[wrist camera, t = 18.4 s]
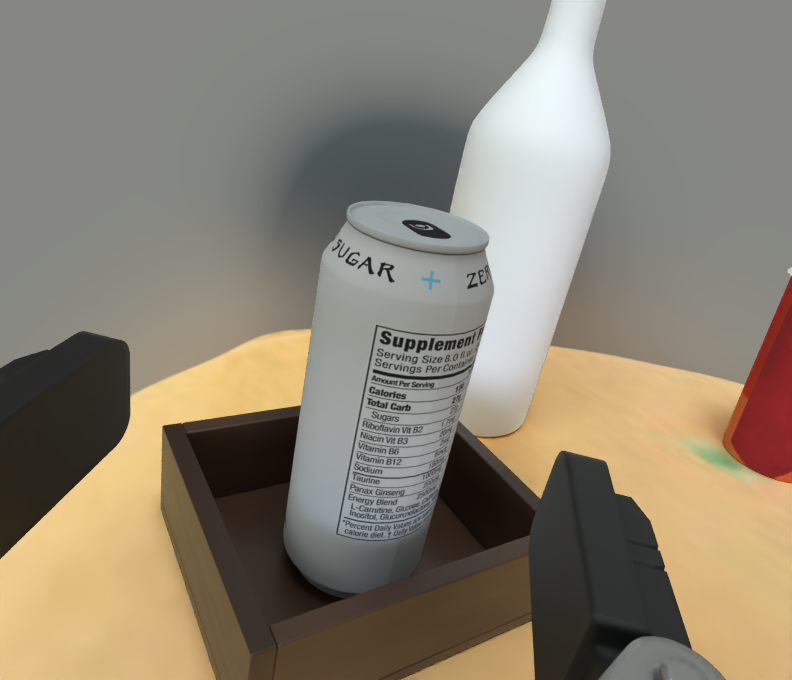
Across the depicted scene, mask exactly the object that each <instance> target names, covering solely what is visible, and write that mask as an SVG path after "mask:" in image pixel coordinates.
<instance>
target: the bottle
mask: <svg viewBox="0 0 792 680" xmlns="http://www.w3.org/2000/svg"><path fill="white" fill-rule="evenodd" d="M605 4H606V0H552V2H551V6H550V9H549V12H548V16H547V20H546V23H545V26H544V29H543V33H542V35H541V38H540V40H539V43H538V45H537V46H536V48H535V50H534V51H533V53H532V54H531V55H530V56H529V58H528V59H527V60H526V61H525V62H524V63H523V64H522V65H521V66H520V68H519V69H518V70H517V71H516V72H515V73H514V74H513V76H511V77H510V78H509V80H508V81H507V82H506V83H505V84H504V85H503V86H502V87H501V88H500V89H499V91H498V92H497V93H496V94H495V95H494V96H493V97H492V98H491V99H490V101H489V102H488V103H487V104H486V105H485V107H484V108H483V109H482V110H481V111H480V113H479V114H478V115H477V117H476V118H475V120H474V121H473V123H472V126H471V128H470V130H469V133H468V137H467V140H466V144H465V148H464V152H463V156H462V160H461V166H460V170H459V174H458V178H457V183H456V187H455V191H454V196H453V200H452V205H451V209H450V213H449V214H452V215H455V216H458V217H461V218H463V219H466V220H468V221H470V222H472V223H474V224H476V225H478V226H479V227H481V228H483V229H484V230H485V231H486V232H487V233H488V235H489V243H488V246H487V247H486V248H485V251H486V257H487V261H488V265H489V268H490V272H491V276H492V280H493V283H494V295H493V298H492V302H491V305H490V309H489V313H488V316H487V320H486V323H485V327H484V331H483V334H482V338H481V341H480V345H479V349H478V352H477V356H476V359H475V363H474V367H473V370H472V374H471V377H470V381H469V385H468V388H467V392H466V396H465V399H464V403H463V406H462V410H461V414H460V417H459V421H460V422H461V423H462V424H463V425H464V426H465V427H466V428H467V429H468V430H469V431H470V432H471V433H472V434H473V435H474V436H481V437H496V436H502V435H506V434H509V433H512V432H514V431H515V430H517V429H518V428H520V426H521V425H522V424H523V422H524V420H525V418H526V415H527V412H528V409H529V406H530V403H531V400H532V397H533V394H534V391H535V388H536V385H537V382H538V379H539V376H540V373H541V370H542V367H543V364H544V361H545V358H546V355H547V352H548V349H549V346H550V343H551V340H552V337H553V334H554V331H555V328H556V325H557V322H558V319H559V316H560V313H561V310H562V307H563V304H564V301H565V298H566V295H567V292H568V289H569V286H570V283H571V280H572V277H573V274H574V271H575V268H576V265H577V262H578V259H579V256H580V253H581V250H582V247H583V244H584V241H585V238H586V235H587V232H588V229H589V226H590V223H591V220H592V217H593V214H594V211H595V208H596V205H597V202H598V199H599V196H600V193H601V190H602V187H603V184H604V181H605V177H606V173H607V170H608V167H609V161H610V155H611V149H610V140H609V134H608V129H607V124H606V119H605V115H604V111H603V106H602V102H601V98H600V94H599V89H598V85H597V81H596V77H595V72H594V66H593V50H594V44H595V40H596V36H597V33H598V29H599V25H600V21H601V18H602V14H603V11H604V7H605Z"/></svg>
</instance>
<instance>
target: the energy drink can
mask: <svg viewBox="0 0 792 680" xmlns="http://www.w3.org/2000/svg"><path fill="white" fill-rule="evenodd" d="M346 217H347V222H346V223H345V225H344V226H343V228H342V229H341V230H340V231H339V233H338V234H337V235H336V237H335V238H334V239H333V240H332V242H331V243H330V244H329V246H328V247H327V248H326V249H325V251H324V252H323V255H322V259H321V266H320V274H319V281H318V288H317V295H316V302H315V310H314V317H313V324H312V331H311V338H310V345H309V352H308V359H307V366H306V373H305V381H304V388H303V395H302V402H301V409H300V416H299V423H298V431H297V438H296V445H295V452H294V459H293V466H292V473H291V480H290V488H289V495H288V502H287V509H286V516H285V523H284V530H283V536H284V544H285V547H286V550H287V553H288V555H289V557H290V558H291V560H292V561H293V563H294V564H295V565H296V566H297V567H298V569H299V570H300V572H301V574H302V575H303V576H304V577H305V578H306V579H307V580H308V581H309V582H310V583H311V584H312V585H314V586H315V587H316V588H318V589H319V590H321V591H324V592H326V593H328V594H330V595H333V596H337V597H341V598H349V597H352V596H355V595H358V594H361V593H364V592H366V591H369V590H372V589H375V588H378V587H381V586H384V585H387V584H390V583H392V582H395V581H398V580H401V579H404V578H407V577H409V576H410V575H411V574H412V572H413V571H414V570H415V569H416V567H417V565H418V563H419V561H420V558H421V554H422V551H423V547H424V543H425V540H426V536H427V533H428V529H429V525H430V522H431V518H432V515H433V511H434V507H435V504H436V500H437V496H438V493H439V489H440V486H441V482H442V478H443V475H444V471H445V468H446V464H447V460H448V457H449V453H450V450H451V446H452V442H453V439H454V435H455V432H456V428H457V424H458V421H459V417H460V414H461V410H462V406H463V403H464V399H465V396H466V392H467V388H468V385H469V381H470V377H471V374H472V370H473V367H474V363H475V359H476V356H477V352H478V349H479V345H480V341H481V338H482V334H483V331H484V327H485V323H486V320H487V316H488V313H489V309H490V305H491V302H492V298H493V295H494V283H493V280H492V276H491V272H490V268H489V265H488V261H487V257H486V251H485V248H486V247H487V246H488V243H489V235H488V233H487V232H486V231H485V230H484V229H483V228H481V227H479V226H478V225H476V224H474V223H472V222H470V221H468V220H466V219H463V218H461V217H458V216H455V215H452V214H449V213H446V212H443V211H439V210H436V209H432V208H427V207H423V206H417V205H412V204H406V203H398V202H387V201H365V202H358V203H355V204H352V205H351V206H349V208H348V210H347V215H346Z"/></svg>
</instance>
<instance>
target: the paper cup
mask: <svg viewBox="0 0 792 680" xmlns="http://www.w3.org/2000/svg"><path fill="white" fill-rule="evenodd" d="M788 273H789V274H790V275H791V278H790V280H789V283H788V285H787V287H786V290H785V292H784V295H783V297H782V299H781V301H780V304H779V306H778V308H777V311H776V313H775V316H774V318H773V320H772V323H771V325H770V327H769V329H768V332H767V334H766V336H765V339H764V341H763V344H762V346H761V348H760V351H759V353H758V355H757V358H756V360H755V362H754V365H753V367H752V370H751V372H750V374H749V376H748V379H747V381H746V383H745V386H744V388H743V391H742V393H741V395H740V398H739V400H738V403H737V405H736V407H735V410H734V412H733V415H732V417H731V420H730V422H729V425H728V427H727V430H726V433H725V435H724V439H723V443H724V446H725V448H726V449H727V451H728V452H729V453H730V454H731V455H732V456H733V457H734V458H736V459H737V460H738V461H739V462H741V463H742V464H744V465H745V466H747V467H749V468H750V469H752V470H754V471H756V472H758V473H760V474H762V475H765V476H767V477H770V478H773V479H776V480H780V481H784V482H790V483H792V267H791V268H789V269H788Z"/></svg>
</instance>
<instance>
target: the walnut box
mask: <svg viewBox="0 0 792 680" xmlns="http://www.w3.org/2000/svg"><path fill="white" fill-rule="evenodd" d="M300 409H301V406H295V407H288V408H281V409H274V410H267V411H261V412H254V413H247V414H240V415H234V416H227V417H220V418H213V419H206V420H200V421H193V422H186V423H183V424H181V423H178V424H171V425H165V426H163V429H162V472H161V510H162V513H163V517H164V520H165V523H166V526H167V529H168V532H169V535H170V538H171V541H172V544H173V547H174V550H175V554H176V557H177V560H178V563H179V566H180V569H181V572H182V575H183V578H184V581H185V584H186V587H187V591H188V594H189V597H190V600H191V603H192V606H193V609H194V612H195V615H196V618H197V621H198V624H199V628H200V631H201V634H202V637H203V640H204V643H205V646H206V649H207V652H208V655H209V658H210V661H211V665H212V668H213V671H214V674H215V677H216V680H399V679H401V678H403V677H405V676H407V675H410V674H412V673H414V672H416V671H419V670H421V669H423V668H425V667H427V666H430V665H432V664H434V663H436V662H439V661H441V660H443V659H445V658H448V657H450V656H452V655H454V654H456V653H459V652H461V651H463V650H465V649H468V648H470V647H472V646H474V645H476V644H479V643H481V642H483V641H485V640H488V639H490V638H492V637H494V636H496V635H499V634H501V633H503V632H505V631H508V630H510V629H512V628H514V627H516V626H519V625H521V624H523V623H525V622H528V621H530V620H532V611H531V592H530V574H529V555H528V549H529V538H530V532H531V527H532V523H533V520H534V517H535V514H536V511H537V508H538V506H539V503H540V500H541V499H540V498H539V497H538V496H537V495H536V494H535V493H534V492H533V491H532V490H531V489H529V488H528V487H527V486H526V485H525V484H524V483H523V482H522V481H521V480H520V479H519V478H518V477H517V476H516V475H515V474H514V473H513V472H512V471H511V470H510V469H509V468H508V467H507V466H506V465H505V464H504V463H502V462H501V461H500V460H499V459H498V458H497V457H496V456H495V455H494V454H493V453H492V452H491V451H490V450H489V449H488V448H487V447H486V446H485V445H484V444H483V443H482V442H481V441H480V440H479V439H478V438H476V437H475V436H474V435H473V434H472V433H471V432H470V431H469V430H468V429H467V428H466V427H465V426H464V425H463V424H462V423H461V422H460V421H458V424H457V428H456V432H455V435H454V439H453V442H452V446H451V450H450V453H449V457H448V460H447V464H446V468H445V471H444V475H443V478H442V482H441V486H440V489H439V493H438V496H437V500H436V504H435V507H434V511H433V515H432V518H431V522H430V525H429V529H428V533H427V536H426V540H425V543H424V547H423V551H422V554H421V558H420V561H419V563H418V565H417V567H416V569H415V570H414V571H413V572H412V574H411V575H410V576H409V577H407V578H404V579H401V580H398V581H395V582H392V583H390V584H387V585H384V586H381V587H378V588H375V589H372V590H369V591H366V592H364V593H361V594H358V595H355V596H352V597H349V598H341V597H337V596H333V595H330V594H328V593H326V592H324V591H321V590H319V589H318V588H316V587H315V586H314V585H312V584H311V583H310V582H309V581H308V580H307V579H306V578H305V577H304V576H303V575H302V574H301V572H300V570H299V569H298V567H297V566H296V565H295V564H294V563H293V561H292V560H291V558H290V557H289V555H288V553H287V550H286V547H285V544H284V536H283V530H284V523H285V516H286V509H287V502H288V495H289V488H290V480H291V473H292V466H293V459H294V452H295V445H296V438H297V431H298V423H299V416H300Z"/></svg>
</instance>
